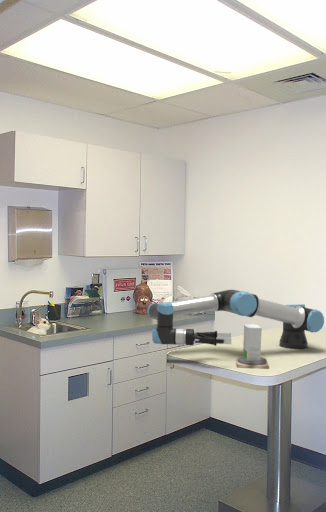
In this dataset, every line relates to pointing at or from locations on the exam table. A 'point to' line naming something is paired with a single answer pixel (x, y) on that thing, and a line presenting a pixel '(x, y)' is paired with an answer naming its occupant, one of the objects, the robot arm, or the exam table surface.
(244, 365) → the rosette stand
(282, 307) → the robot arm
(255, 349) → the skincare box
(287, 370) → the exam table surface
